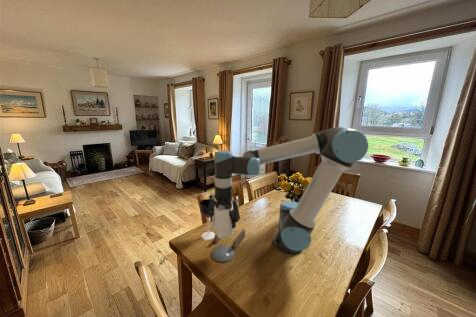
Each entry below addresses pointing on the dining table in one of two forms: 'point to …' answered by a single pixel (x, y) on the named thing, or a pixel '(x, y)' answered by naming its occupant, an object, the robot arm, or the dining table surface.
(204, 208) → the wineglass
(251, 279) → the dining table surface
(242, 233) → the rail slot
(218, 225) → the cup
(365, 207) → the dining table surface
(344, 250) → the dining table surface
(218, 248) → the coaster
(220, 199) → the robot arm
